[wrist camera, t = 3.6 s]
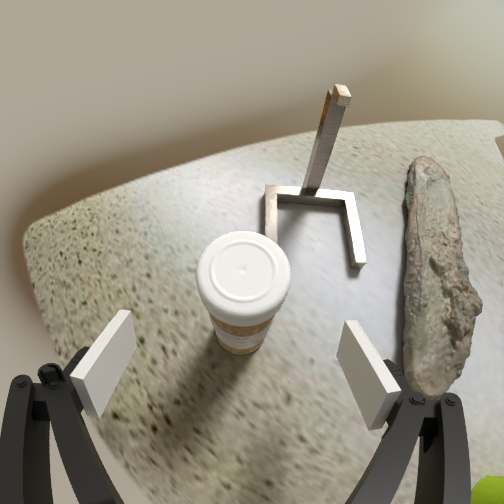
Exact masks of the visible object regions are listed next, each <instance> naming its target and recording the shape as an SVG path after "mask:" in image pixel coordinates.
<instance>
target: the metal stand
mask: <svg viewBox="0 0 504 504" xmlns="http://www.w3.org/2000/svg"><path fill="white" fill-rule="evenodd" d="M350 100H351V95H350V93H349V91H348V89H347V87H346V86H344V85H338V84H335V85H334V89H333V90H331V89H328V92H327V96H326V100H325V104H324V108H323V112H322V116H321V119H320V123H319V127H318V131H317V135H316V139H315V142H314V146H313V150H312V154H311V157H310V161H309V165H308V168H307V172H306V175H305V179H304V183H303V186H302V187H290V186H277V185H266V188H265V218H264V236H266V237H268V238H269V239H271V240H272V241H274V242H275V243H276V244H277V245H278V236H277V202H285V203H298V204H310V205H322V206H333V207H341V208H342V213H343V219H344V225H345V231H346V237H347V244H348V251H349V258H350V265H351V268H352V269H361V268H362V267H363V266H364V265H365V264H366V257H365V251H364V245H363V239H362V234H361V229H360V224H359V219H358V214H357V209H356V205H355V200H354V196H353V193H350V192H342V191H333V190H323V189H319V187H320V184H321V181H322V178H323V175H324V172H325V169H326V167H327V164H328V161H329V158H330V155H331V152H332V149H333V146H334V143H335V139H336V136H337V133H338V130H339V127H340V124H341V121H342V118H343V114H344V111H345V108H346V106H347V107H348V106H349V104H350Z"/></svg>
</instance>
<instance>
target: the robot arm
mask: <svg viewBox="0 0 504 504" xmlns="http://www.w3.org/2000/svg"><path fill="white" fill-rule="evenodd" d="M136 348H137V344H136V338H135V333H134V327H133V320H132V314H131V311H128V310H119V312H118V313H117V314H116V315H115V317H114V318H113V319H112V320H111V322H110V323H109V324H108V325H107V327H106V328H105V329H104V331H103V332H102V333H101V334H100V336H99V337H98V338H97V340H96V341H95V342H94V344H93V345H92V346H91V348H90V347H83V348H82V349H80V350H79V351H78V352H77V353H76V354H75V356H74V358H72V359H71V361H70V362H69V363H68V365H67V366H66V367H65V369H64V370H63V371H62V370H61V368H60V366H59V365H57V364H54V363H48V364H45V365H43V366H42V367H40V368H39V370H38V376H39V379H40V381H41V383H33V382H32V380H31V378H30V377H29V376H27V375H19V376H17V377H15V378H14V379H13V380H12V382H11V385H10V390H9V394H8V398H7V403H6V407H5V412H4V417H3V423H2V429H1V436H0V504H53V497H52V488H51V477H50V454H49V431H50V421H51V425H52V429H53V432H54V436H55V440H56V443H57V446H58V450H59V453H60V456H61V459H62V462H63V464H64V467H65V470H66V473H67V475H68V477H69V481H70V483H71V485H72V488H73V490H74V493H75V495H76V497H77V500H78V502H79V504H124V502H123V500H122V499H121V497H120V495H119V494H118V492H117V490H116V488H115V487H114V485H113V483H112V481H111V479H110V477H109V475H108V474H107V472H106V470H105V468H104V466H103V464H102V462H101V459H100V457H99V455H98V453H97V451H96V449H95V447H94V444H93V442H92V440H91V437H90V435H89V433H88V430H87V428H86V425H85V422H84V420H83V417H82V415H81V411H82V410H83V408H84V410H85V412H86V414H87V415H88V416H91V417H94V418H98V419H100V417H101V415H102V413H103V411H104V409H105V407H106V405H107V403H108V401H109V399H110V397H111V395H112V393H113V391H114V389H115V388H116V386H117V384H118V382H119V380H120V378H121V376H122V374H123V372H124V370H125V368H126V367H127V365H128V363H129V361H130V359H131V357H132V355H133V354H134V352H135V350H136ZM336 356H337V358H338V361H339V363H340V365H341V367H342V370H343V372H344V374H345V376H346V379H347V381H348V383H349V385H350V388H351V390H352V392H353V395H354V397H355V399H356V402H357V404H358V406H359V409H360V411H361V414H362V416H363V418H364V421H365V423H366V425H367V428H368V430H374V429H379V428H382V427H383V425H384V423H385V421H387V424H388V428H387V430H386V431H385V433H384V435H383V436H382V438H381V439H382V440H381V442H380V444H379V446H378V448H377V450H376V452H375V454H374V456H373V458H372V460H371V461H370V463H369V465H368V467H367V469H366V470H365V472H364V474H363V476H362V477H361V479H360V481H359V482H358V484H357V486H356V487H355V489H354V490H353V492H352V493H351V495H350V497H349V498H348V500H347V501H346V503H345V504H390V503H391V501H392V499H393V497H394V495H395V493H396V491H397V489H398V487H399V485H400V482H401V480H402V478H403V475H404V473H405V471H406V468H407V466H408V463H409V461H410V458H411V455H412V453H413V450H414V447H415V444H416V441H417V438H418V436H420V445H419V464H418V477H417V486H416V495H415V502H414V504H471V477H470V460H469V449H468V440H467V432H466V425H465V419H464V413H463V407H462V402H461V399H460V398H459V397H458V396H457V395H455V394H453V393H445V394H443V395H442V396H441V398H440V399H439V400H427V398H426V397H425V396H424V395H423V394H421V393H419V392H415V391H413V390H412V388H411V387H410V385H409V384H408V382H407V381H406V379H405V378H404V376H402V373H401V372H400V371H399V369H398V367H397V366H396V364H394V363H393V362H392V361H390V360H389V359H387V360H382V359H381V357H380V356H379V354H378V352H377V351H376V349H375V348H374V346H373V345H372V343H371V342H370V340H369V339H368V337H367V336H366V334H365V333H364V331H363V330H362V328H361V327H360V325H359V324H358V322H357V321H356V320H345V323H344V327H343V331H342V336H341V340H340V344H339V348H338V352H337V355H336Z"/></svg>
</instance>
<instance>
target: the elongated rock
mask: <svg viewBox="0 0 504 504" xmlns="http://www.w3.org/2000/svg"><path fill="white" fill-rule="evenodd" d="M409 169H410V173H409V174H408V176H407V181H408V186H407V193H406V196H405V201H406V206H407V210H408V222H407V223H408V227H407V228H406V234H405V241H406V244H407V248H406V250H407V262H406V266H407V270H406V273H405V276H404V283H403V286H404V296H405V297H406V300H405V308H404V312H405V313H404V315H405V317H404V319H405V326H404V329H403V339H402V341H403V342H404V347H403V365H404V377H405V379H406V381H407V382H408V384H409V385H410V387H411V388H412V390H413V391H415V392H419V393H421V394H423V395H424V396H425V397H426V398H427V399H429V400H434V399H437V398H440V397H441V396H442V395H443V394H445V392H446V391H447V390H448V389H449V387H450V386H451V384H453V382H454V380H455V379H457V378H459V377H460V376H461V374H462V369H463V368H464V365H465V361H466V358H468V357H469V356H470V348H471V344H472V342H471V337H472V335H473V330H474V329H473V328H474V325H475V320H476V316H478V315H479V314H480V313H481V312H482V306H483V304H482V300H481V298H480V297H479V296H478V293H477V291H476V290H475V289H474V287H472V285H471V283H470V282H469V277H468V275H469V270H468V268H467V266H466V264H465V262H464V260H463V252H462V244H463V243H462V241H461V228H460V225H459V216H458V213H457V207H456V205H455V197H454V194H453V193H452V190H451V187H450V180H449V175H447V174H446V172H445V171H444V169H443V168H442V167H441V165H440V164H439V163H437V162H436V161H434V160H433V159H432V158H431V157H425V156H420V157H417V158H415V159H414V161H413V162H412V163H411V165H410V166H409Z"/></svg>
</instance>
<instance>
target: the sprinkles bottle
mask: <svg viewBox="0 0 504 504" xmlns="http://www.w3.org/2000/svg"><path fill="white" fill-rule="evenodd" d="M290 282H291V269H290V265H289V262H288V259H287V257H286V255H285V253H284V252H283V250H282V249H281V248H280V247H279V246H278V245H277V244H276V243H275V242H274V241H272V240H271V239H269V238H268V237H266V236H264V235H261V234H259V233H255V232H249V231H237V232H232V233H228V234H225V235H222V236H220V237H219V238H217V239H215V240H214V241H213V242H211V243H210V244H209V245H208V246H207V247H206V248H205V250H204V251H203V252H202V254H201V256H200V258H199V260H198V263H197V267H196V283H197V287H198V291H199V294H200V297H201V300H202V302H203V304H204V306H205V307H206V309H207V310H208V312H209V315H210V318H211V321H212V324H213V326H214V329H215V332H216V335H217V338H218V341H219V343H220V344H221V345H222V346H223V348H224V349H226V350H227V351H229V352H231V353H233V354H240V355H243V354H248V353H251V352H253V351H255V350H256V349H257V348H259V347H260V345H261V344H262V343H263V341H264V338H265V336H266V334H267V332H268V330H269V328H270V325H271V323H272V321H273V319H274V317H275V314H276V313H277V312H278V310H279V309H280V308H281V306H282V304H283V302H284V300H285V298H286V296H287V293H288V290H289V287H290Z"/></svg>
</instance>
